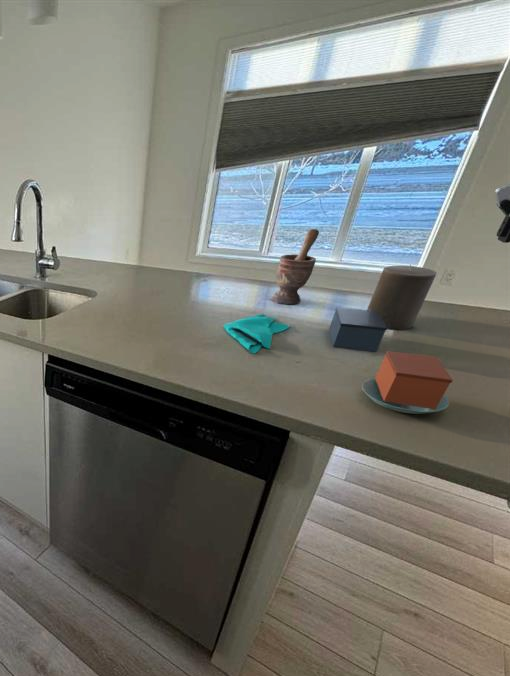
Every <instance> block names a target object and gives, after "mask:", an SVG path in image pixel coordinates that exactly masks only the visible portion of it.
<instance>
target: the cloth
mask: <svg viewBox="0 0 510 676" xmlns="http://www.w3.org/2000/svg"><path fill="white" fill-rule="evenodd" d="M275 320H276V317H274V316H273V317H272V316H266V314H264V313H260V314H256V315H253V316H247V317H244V318H241V319H236V320H234V321H231V322H227V323H225V324H223V328H224V330H225V331H226V333H228V334H229V335H230V336H231V337H232V338H234V339H235V340H236V341H238V342H239V344H240V345H242V347H244V348H245V349H247V350H248V351H249V352H250V353H251V354H253V355H255V354H256V353H258V352H259V351H260V349H261V348H262V347H264V348H266V349H268V350H271V345H272V339H273V335H274V334H278V333H281V332H284V331H285V330H288V329H289V328H291V325H289V324H285V323H282V322H276V321H275Z"/></svg>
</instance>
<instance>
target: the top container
mask: <svg viewBox="0 0 510 676" xmlns="http://www.w3.org/2000/svg"><path fill="white" fill-rule="evenodd" d="M375 379H376V382H377V384H378V387H379V390H380V392H381V395H382V398H383V400H384V401H385V402H391V403H398V404H404V405H410V406H416V407H422V408H428V409H436V407H437V406H438V404H439V402H440V400H441V398H442V397H443V395H444V396H445V393H446V391H447V389H448V388H449V386H450V384H452V382H453V378H452V377H451V375H450V373H449V372H448V370H447V369H446V368H445V366H444V365H443V363H442V362H441V360H440V359H439V357H438V356H432V355H425V354H416V353H407V352H399V351H391V350H386V352H385V355H384V358H383V359H382V362H381V364H380V367H379V369H378V371H377V373H376V376H375Z"/></svg>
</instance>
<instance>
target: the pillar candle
mask: <svg viewBox="0 0 510 676" xmlns="http://www.w3.org/2000/svg"><path fill="white" fill-rule="evenodd" d="M437 273H438V271H436V270H434V269H430V268H427V267H426V268H425V267H420V266H415V265H414V266H413V265H412V264H409V265H403V264H402V265H400V264H399V265H389V266H385V267H384V268H383V269H382V271H381V274H380V276H379V279H378V281H377V284H376V287H375V289H374V292H373V294H372V296H371V299H370V300H369V304H368V306H367V309H366V310H370V311H378V312H379V314H380V315H381V317H382V319H383V321H384V323H385V325H386V327H387V330H398V331H399V330H400V331H401V330H409V329H411V328H412V327H414V324H415V322H416V320H417V317H418V315H419V312H420V311H421V310H422V309H421V308H422V307H423V304H424V302H425V300H426V298H427V295H428V294H429V291H430V290H431V287H432V285H433V283H434V280H435V278H436V276H437Z"/></svg>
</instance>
